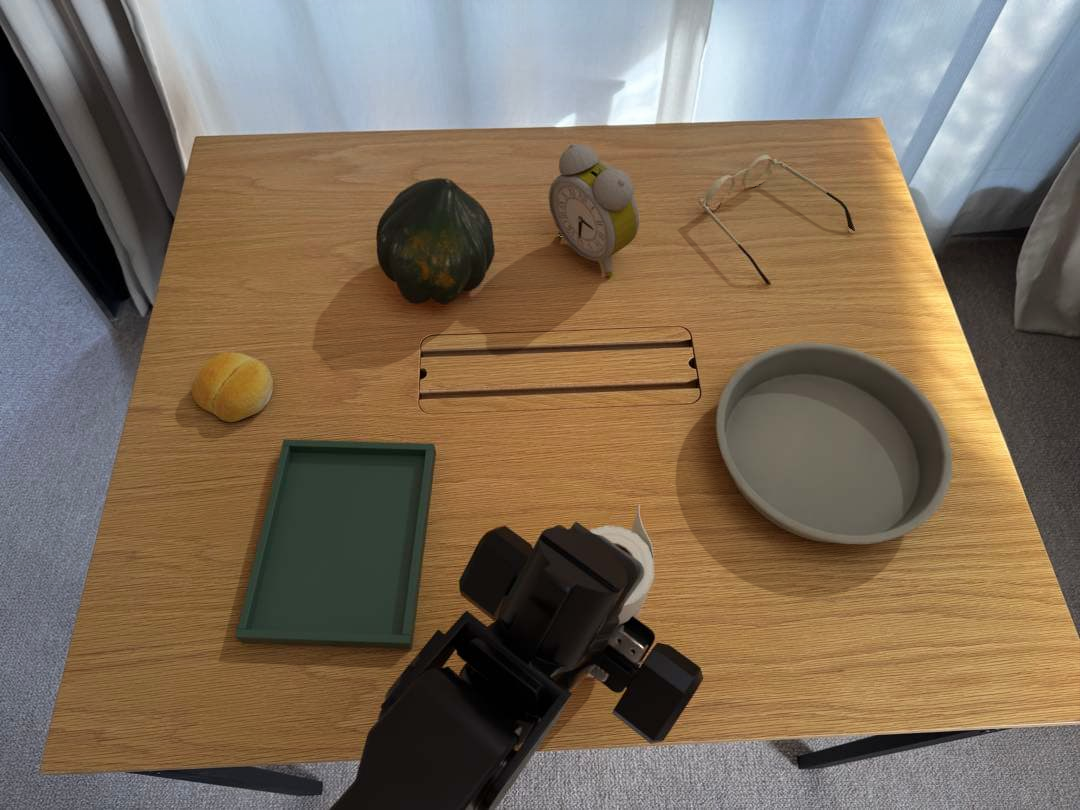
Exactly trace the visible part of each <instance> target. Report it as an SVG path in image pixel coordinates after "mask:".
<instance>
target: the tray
mask: <svg viewBox="0 0 1080 810" xmlns="http://www.w3.org/2000/svg"><path fill="white" fill-rule="evenodd" d="M436 456H437V451H436V446H435V444H434V443H425V442H423V443H419V442H391V441H390V442H388V441H385V442H384V441H383V442H382V441H358V440H357V441H355V440H353V441H352V440H351V441H350V440H320V439H319V440H317V439H283V440H282V445H281V449H280V452H279V457H278V462H277V464H276V470H275V474H274V478H273V482H272V486H271V490H270V493H269V497H268V502H267V505H266V510H265V514H264V518H263V523H262V526H261V530H260V535H259V539H258V543H257V546H256V550H255V554H254V558H253V562H252V566H251V567H252V568H251V570H250V571H251V572H250V575H249V579H248V583H247V587H246V592H245V595H244V599H243V603H242V608H241V611H240V616H239V620H238V624H237V628H236V632H235V635H234V637H235V639H237V640H238V642H240V643H241V644H262V645H264V644H265V645H291V646H293V645H294V646H316V647H317V646H320V647H345V648H349V647H351V648H373V649H374V648H375V649H377V648H378V649H400V650H401V649H402V650H403V649H404V650H405V649H407V650H411V649H413V645H414V637H415V627H416V620H417V619H416V618H417V613H418V612H417V611H418V603H419V595H420V588H421V587H420V586H421V579H422V572H423V571H422V570H423V562H424V555H425V545H426V538H427V531H428V523H429V521H428V520H429V515H430V506H431V497H432V489H433V480H434V472H435V466H436Z"/></svg>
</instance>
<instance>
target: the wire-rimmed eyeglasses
mask: <svg viewBox="0 0 1080 810" xmlns="http://www.w3.org/2000/svg"><path fill="white" fill-rule="evenodd" d="M764 160H768V162H767V165H766V168H765V170H764V171H763V173H765V174H767V175H768V177H769V178H770V177H771V176H772V174H773V173H774V171H773V170H772V169H771V166H774V167H781V169H784V170H786V171H787V172H789V173H790V174H792V175H793V176H795V177H796V178H798V179H800V180H802V181H803V182H804V183H806V184H808V185H809V186H811V187H812V188H814V189H816V190H818V191H820V192H821V193H823V194H824V195H827V196H829V197H830V198H831V199H832V200H834V201H836V202H837V203H838V204H839V205H840V206H841V207H842V208H843V209H844V213H845V217H846V223H847V228H848V227H849V228H850V229H852V230H853V231H855V232H856V228H855V226H854V223H853V220H852V217H851V214H850V212H849V209H848V207H847V205H845V203H844V202H843V201H842V200H841V199H839V198H838V197H836V196H835V195H833V194H832V193H830V192H829V191H827V189H825V188H823V187H822V186H821V185H818V184H817V183H815V182H814V181H812V180H810V179H809V178H808V177H806V176H804V175H803V174H801V173H800V172H798V171H797V170H795V169H794V168H792V167H790V166H789V165H788V164H785V163H784V162H782V161H778V159H777V158H774V159H772V157H771V156H769V155H768V154H762V155H760V156H758V157H757V158H756V159H754V160H753V162H751V163H750V165H749V166H747V168H744V169H742V170H741V171H738V172H737V173H736V174H735V175H733V176H732V175H730V174H727V175H724V176H721V177H720V178H719V179H717V180H715V182H714V183H713V184H712V185H711V186H710V188H709V189H708V191H707V192H706V194H705V197H703V198H701V199H699V200H698V201H697V203H698V204H699V205H700V206H701V205H702V206H701V208H702V209H703V211H705V213H707V215H708V216H709V217H710V218H711V220H713V222H714V223H715V224H716V225H717V226H718V227H719V228H720V229H721V230H722V231H723V232H724V233H725V234H726V235H727V237H729V238H730V239H731V241H733V243H734V244H735V245H736V246H737V247H738V248H739V249H740V250H741V251H742V252H743V254H745V256H746V257H747V258H748V259H749V261H750V262H751V263H752V265H753V266H754V268H755V270H756V271H757V272H758V274H759V276H760V277H761V279H762V280H763V281H764V283H765V284H767V285H768V286H771V285H772V283H771V281H770V280H769V279H768V277H766V275H765V274H764V272H763V271H762V270H761V269H760V267H759V265H758V263H756V262H755V259H754V258H753V257H752V256H751V254H750V253H748V251H747V250H746V249H745V248H744V247H743V246H742V245H741V244H740V242H739V241H738V240H737V239H736V238H735V236H734V235H732V233H731V232H730V231H729V230H728V229H727V228H726V227H725V226H724V224H723V223H722V222H721V221H720V220H719V219H718V218H717V217H716V215H715V214H714V213H713V211H711V207H710V206H711V205H710V204H709V203H708V201H709V200H710V201H713V200H714V197H715V196H716V194H717V193H718V191H719V189H720V188H721V187H722V185H723V184H724V183H725V182H726V181H727V180H728V179H731V183H730V187H729V189H728V190H727V192H726V194H727V195H728V196H729V197H730V196H731V194H732V193H734V192H735V191H734V188H735V184H736V177H738V176H739V175H741V174H742V173H743V175H742V178H741V184H742V186H743V185H744V186H748V182H747V181H746V180H747V176H748V175H749V173H750V172H751V170H752V169H753V168H754V167H755V166H756V165H757V164H758V163H759V162H762V161H764ZM744 186H743V187H744Z"/></svg>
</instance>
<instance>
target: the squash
mask: <svg viewBox="0 0 1080 810" xmlns="http://www.w3.org/2000/svg"><path fill="white" fill-rule="evenodd" d="M376 227H377V228H376V235H375V239H376V241H375V242H376V255H377V261H378V264H379V267H380V269H381V270H382V272H383V274H384V275H385V277H387V279H389V280H390V281H392V282H394V283H396V286H397V288H398V291H399V293H400V294H401V296H402V297H403V298H404V299H405V300H406V301H407V302H408V303H410V304H413V305H420V304H424V303H426V302H428V301H430V300H432V301H433V302H434V303H436V304H438V305H441V306H445V305H448V304H451V303H453V302H454V301H455V300H457V298H458V297H459V296H460V295H461V294H462V293H463V292H470V291H473V290H476V288H477V287H479V286H480V285H481V284H482V282H483V281H484V279H485V277H486V273H487V272H488V270H489V269H490V267H491V264H492V262H493V260H494V257H495V251H496V250H495V242H494V232H493V231H494V230H493V224H492V221H491V219H490V217H489V215H488V214H487V212H486V210H485V209H484V207H483V205H482V204H481V203H480V202H479V201H478V200H477V199H475V198H474V197H473V196H471V194H469V193H467V192H466V191H465V190H464V189H462V188H461V187H460V186H459V185H458V184H457V183H456V182H455V181H453V180H451V179H449V178H441V177H437V178H436V177H435V178H430V179H424V180H421V181H420V180H419V181H418V182H415V183H412V184H411V185H409V186H407V187H406V188H404V189H403V190H401V192H399V193H398V194H397V195H396V197H395V198H394V200H393V201H392V203H391V204H390V205H389V206H388V207H387V208H386V209H385V210H384V212H383V213H382V215H381V217H380V218H379V221H378V224H377V226H376Z"/></svg>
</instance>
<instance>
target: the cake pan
mask: <svg viewBox="0 0 1080 810" xmlns="http://www.w3.org/2000/svg"><path fill="white" fill-rule="evenodd" d="M719 397H720V398H719V400H718V404H717V409H716V415H715V416H716V418H715V431H716V438H717V444H718V448H719V450H720V453H721V457H722V459H723V461H724V463H725V466H726V467H727V469H728V471H729V474H730V476H731V479H732V481H733V483H734V484H735V486H736V487H737V489H738V490H739V492H740V493H741V495H742V496H743V497H744V498H745V500H746V502H748V504H750V505H751V506H752V507H753V509H754V510H756V512H758V513H759V514H760V515H761V516H762V517H764V518H765V519H767V520H768V521H769V522H771V523H772V524H774V525H775V526H777V527H779V528H780V529H782V530H784V531H786V532H788V533H790V534H793V535H795V536H798V537H801V538H803V539H807V540H810V541H815V542H820V543H826V544H846V545H870V544H878V543H879V544H880V543H883V542H887V541H891V540H894V539H898V538H901V537H903V536H905V535H907V534H909V533H911V532H913V531H915V530H916V529H918V528H919V527H920V526H922V525H924V523H926V522H927V521H928V520H930V518H931V517H933V515H934V514H935V513H936V512H937V511H938V510H939V508H940V506H941V505H942V503H943V502H944V500H945V498H946V496H947V494H948V492H949V488H950V485H951V480H952V475H953V467H954V466H953V454H952V447H951V441H950V438H949V434H948V431H947V430H946V427H945V424H944V423H943V420H942V418H941V416H940V415H939V413H938V411H937V410H936V407H934V405H933V404H932V403H931V401H930V399H929V398H927V396H926V394H925V393H923V391H921V389H920V388H919V387H918V386H916V385H915V384H914V383H913V382H912V381H911V380H910V379H909V378H908V377H906V376H905V375H904V374H902V373H901V372H900V371H898V370H897V369H895V367H893V366H891V365H889V364H888V363H886V362H884V361H883V360H881V359H878V358H877V357H875V356H872V355H870V354H867V353H866V352H863V351H860V350H857V349H853V348H851V347H846V346H843V345H839V344H832V343H825V342H797V343H789V344H784V345H780V346H776V347H773V348H770V349H768V350H766V351H763V352H761V353H759V354H757V355H756V356H754V357H752V358H751V359H749V360H748V361H747V362H745V363H744V364H742V365H741V366H740V367H739V368H738V369H737V371H735V373H733V375H732V376H731V377H730V379H729V380H728V381H727V383H726V385H725V386H724V388H723V390H722V392H721V395H720V396H719Z"/></svg>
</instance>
